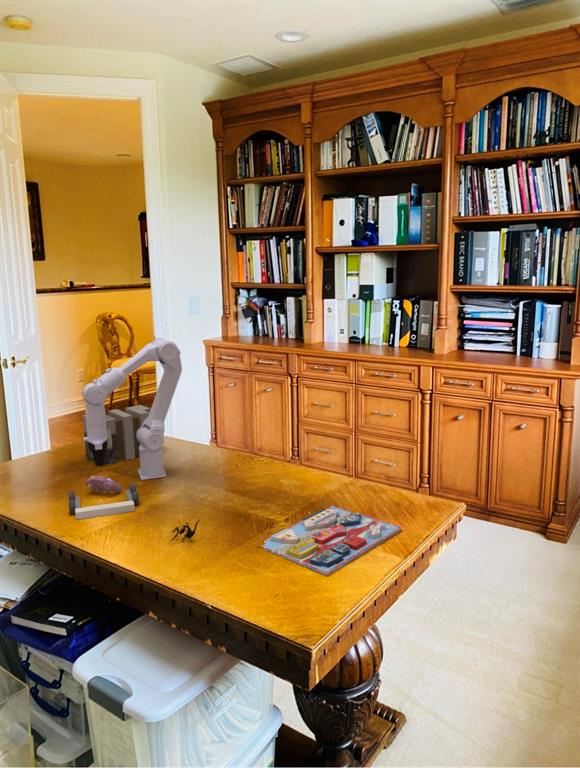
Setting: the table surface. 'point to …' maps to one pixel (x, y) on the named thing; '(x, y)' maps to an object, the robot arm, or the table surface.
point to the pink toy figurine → (103, 484)
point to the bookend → (121, 433)
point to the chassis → (106, 508)
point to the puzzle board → (329, 539)
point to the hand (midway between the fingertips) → (99, 465)
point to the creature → (189, 532)
